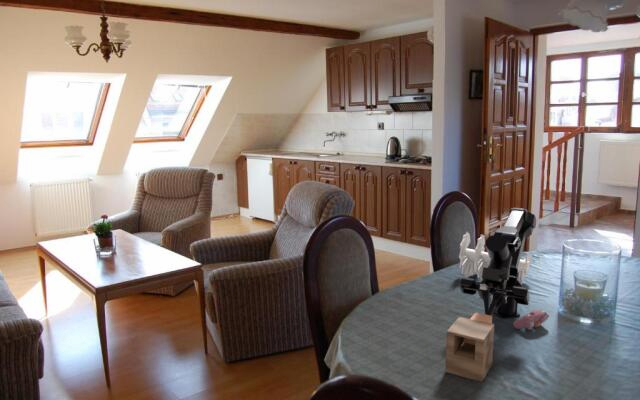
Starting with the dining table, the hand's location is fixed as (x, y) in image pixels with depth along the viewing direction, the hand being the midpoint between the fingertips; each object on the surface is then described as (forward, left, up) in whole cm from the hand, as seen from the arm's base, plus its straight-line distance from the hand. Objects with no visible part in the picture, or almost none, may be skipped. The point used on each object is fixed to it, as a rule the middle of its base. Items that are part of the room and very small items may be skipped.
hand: (487, 318), depth 138 cm
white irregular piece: (-30, -46, -8) cm, 55 cm away
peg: (+6, +6, -2) cm, 9 cm away
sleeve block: (+11, +12, -7) cm, 18 cm away
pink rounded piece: (-18, -6, -8) cm, 21 cm away
